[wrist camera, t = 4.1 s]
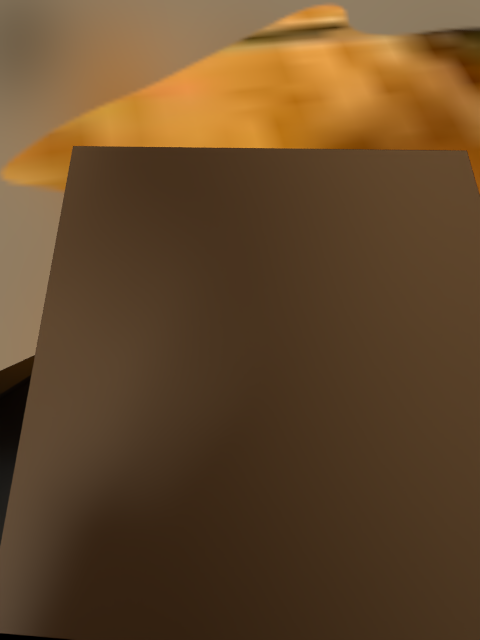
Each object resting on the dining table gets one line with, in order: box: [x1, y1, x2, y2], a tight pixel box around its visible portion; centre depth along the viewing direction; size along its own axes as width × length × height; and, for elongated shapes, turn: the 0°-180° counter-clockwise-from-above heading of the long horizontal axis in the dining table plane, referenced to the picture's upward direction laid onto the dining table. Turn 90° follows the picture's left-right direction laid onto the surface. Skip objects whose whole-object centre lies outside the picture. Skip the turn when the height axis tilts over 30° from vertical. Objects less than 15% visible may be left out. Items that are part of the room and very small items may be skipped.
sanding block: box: [0, 146, 480, 640], centre depth 9 cm, size 8×6×13 cm
